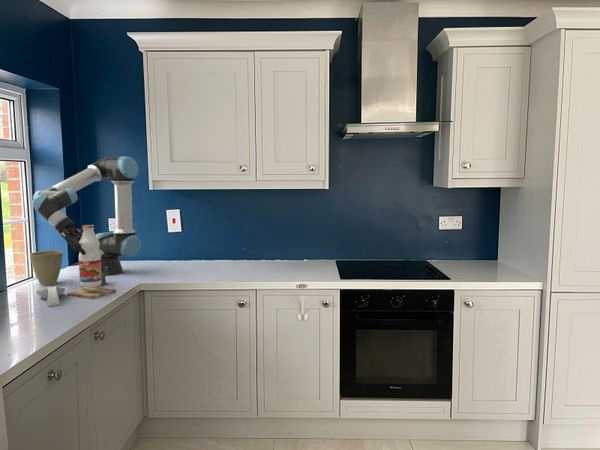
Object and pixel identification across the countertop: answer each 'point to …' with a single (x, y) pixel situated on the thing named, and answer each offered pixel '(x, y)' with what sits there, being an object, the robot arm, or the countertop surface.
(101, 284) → the bracket
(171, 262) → the countertop surface
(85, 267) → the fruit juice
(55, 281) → the plant pot
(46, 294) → the spoon rest
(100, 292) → the brown square board
